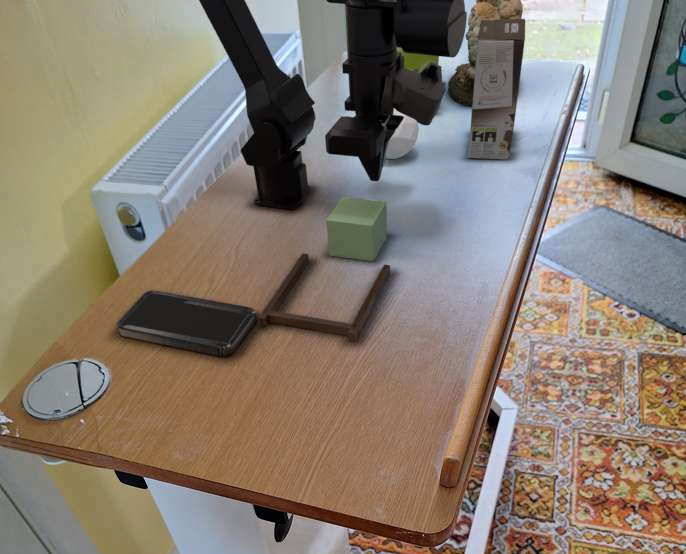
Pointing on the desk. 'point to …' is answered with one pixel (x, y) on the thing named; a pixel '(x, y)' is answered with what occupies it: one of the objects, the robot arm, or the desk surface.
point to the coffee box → (496, 87)
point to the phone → (187, 322)
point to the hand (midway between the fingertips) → (375, 180)
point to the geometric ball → (402, 137)
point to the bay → (315, 323)
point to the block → (357, 228)
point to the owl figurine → (490, 5)
